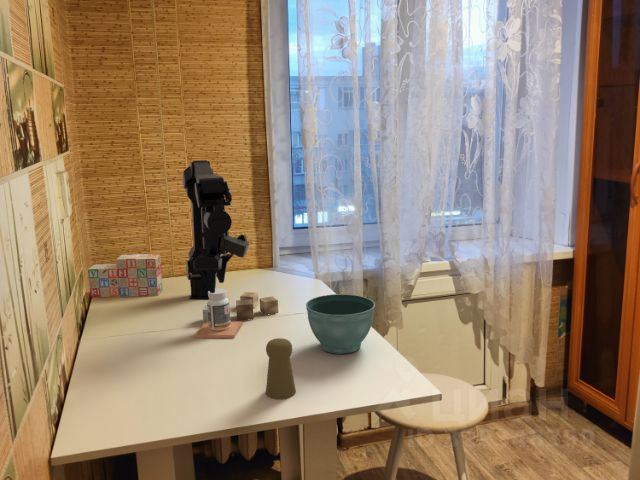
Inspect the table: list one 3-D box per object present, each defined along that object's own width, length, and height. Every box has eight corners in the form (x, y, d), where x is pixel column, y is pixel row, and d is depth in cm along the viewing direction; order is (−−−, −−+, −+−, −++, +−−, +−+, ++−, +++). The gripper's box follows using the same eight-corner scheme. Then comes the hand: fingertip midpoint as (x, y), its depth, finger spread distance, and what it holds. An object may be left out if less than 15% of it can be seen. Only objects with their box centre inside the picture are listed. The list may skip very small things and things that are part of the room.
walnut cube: (237, 321, 160) (236, 305, 159) (236, 315, 165) (235, 300, 164) (253, 319, 161) (252, 304, 160) (252, 314, 165) (252, 299, 164)
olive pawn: (265, 386, 121) (263, 335, 118) (295, 384, 121) (293, 334, 119) (265, 400, 115) (263, 347, 112) (296, 398, 115) (294, 345, 113)
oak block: (265, 315, 164) (264, 302, 163) (260, 311, 168) (259, 298, 167) (278, 313, 166) (277, 300, 165) (273, 309, 169) (272, 296, 168)
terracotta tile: (195, 337, 148) (195, 334, 148) (206, 324, 158) (205, 321, 158) (234, 338, 148) (234, 335, 147) (242, 324, 157) (242, 321, 157)
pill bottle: (234, 325, 154) (232, 288, 152) (224, 332, 149) (222, 295, 147) (215, 323, 156) (213, 287, 154) (204, 330, 151) (201, 293, 149)
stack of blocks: (90, 297, 185) (86, 259, 182) (97, 291, 191) (93, 255, 188) (158, 296, 185) (155, 258, 182) (163, 290, 191) (160, 253, 189)
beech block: (240, 309, 170) (240, 296, 169) (245, 305, 174) (245, 292, 173) (253, 310, 169) (253, 296, 168) (258, 305, 173) (257, 292, 172)
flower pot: (339, 330, 152) (339, 289, 149) (388, 346, 140) (389, 302, 138) (293, 347, 141) (291, 304, 138) (342, 366, 129) (341, 320, 127)
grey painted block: (203, 324, 158) (202, 309, 158) (206, 319, 162) (205, 305, 162) (218, 323, 159) (217, 309, 158) (220, 318, 162) (219, 304, 162)
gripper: (237, 234, 137) (240, 298, 140) (252, 220, 156) (255, 278, 159) (190, 234, 138) (194, 298, 141) (211, 221, 157) (214, 278, 160)
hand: (217, 287), depth 150 cm, fingers open, 9 cm apart
